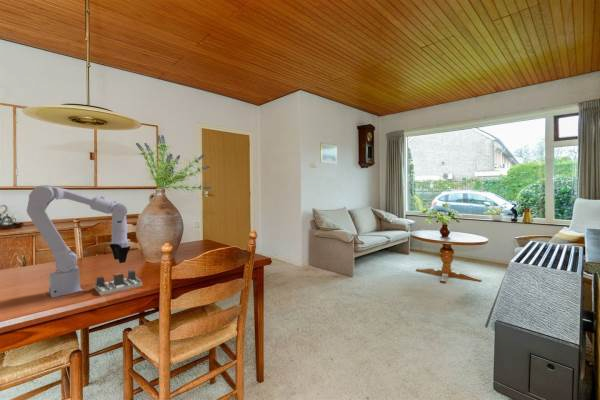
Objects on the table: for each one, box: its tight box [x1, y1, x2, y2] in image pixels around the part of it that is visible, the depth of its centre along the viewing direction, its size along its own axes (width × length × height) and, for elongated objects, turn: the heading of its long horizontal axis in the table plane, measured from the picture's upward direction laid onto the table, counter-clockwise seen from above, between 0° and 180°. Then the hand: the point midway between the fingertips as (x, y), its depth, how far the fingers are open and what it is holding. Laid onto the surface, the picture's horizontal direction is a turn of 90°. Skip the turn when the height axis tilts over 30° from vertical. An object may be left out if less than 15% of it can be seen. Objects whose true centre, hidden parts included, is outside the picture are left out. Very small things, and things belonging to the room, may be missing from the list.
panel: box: [93, 269, 143, 297], centre depth 118 cm, size 15×12×5 cm
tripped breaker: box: [112, 272, 125, 285], centre depth 118 cm, size 3×3×4 cm
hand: (119, 260), depth 123 cm, fingers open, 7 cm apart
